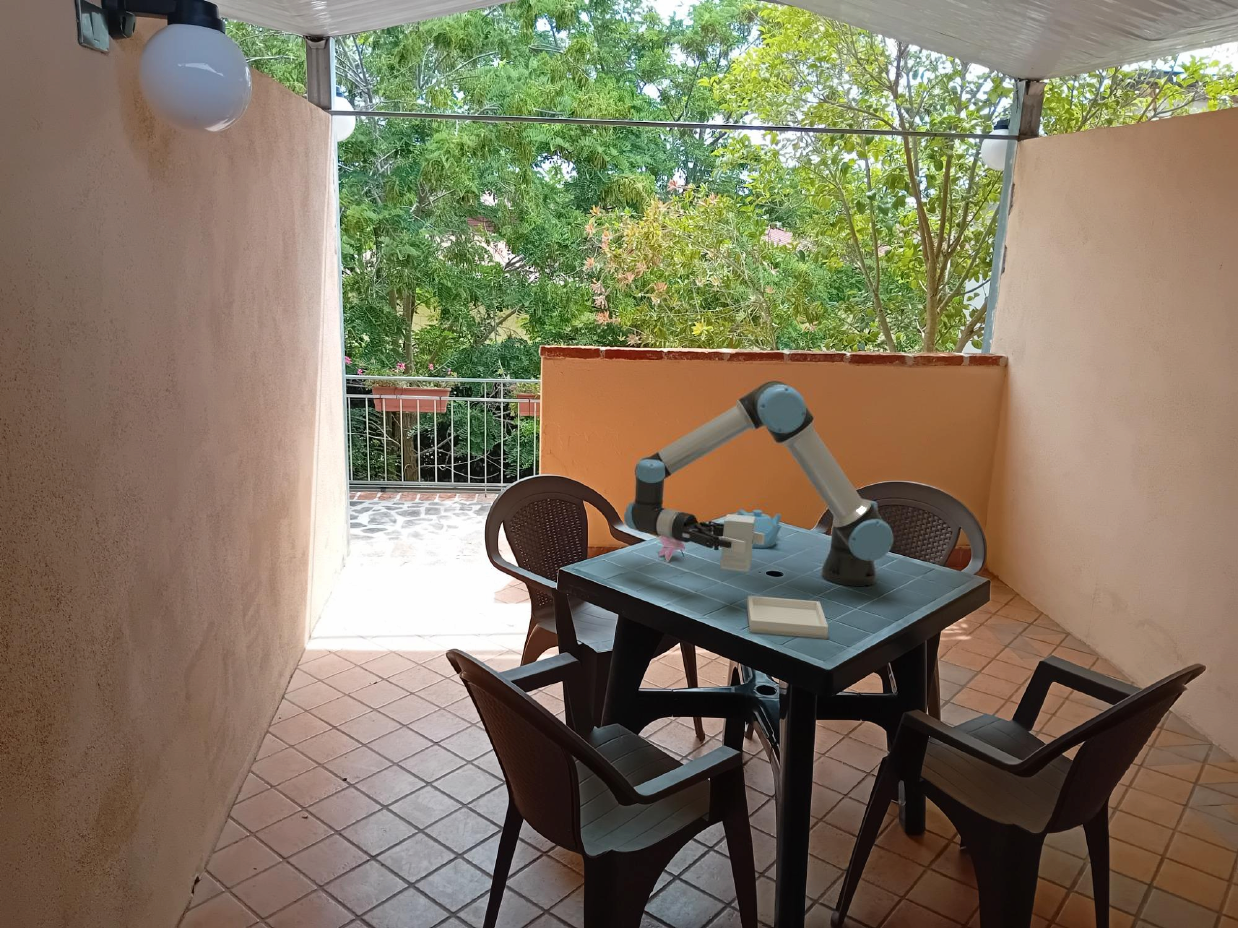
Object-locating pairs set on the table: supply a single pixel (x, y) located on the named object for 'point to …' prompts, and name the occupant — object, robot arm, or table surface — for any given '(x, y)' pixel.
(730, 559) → the supplement box
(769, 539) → the teapot
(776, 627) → the tray
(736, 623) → the table surface
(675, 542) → the lily
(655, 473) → the robot arm
